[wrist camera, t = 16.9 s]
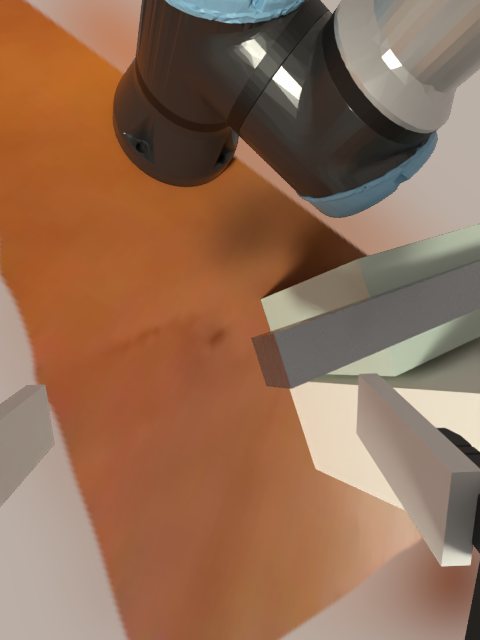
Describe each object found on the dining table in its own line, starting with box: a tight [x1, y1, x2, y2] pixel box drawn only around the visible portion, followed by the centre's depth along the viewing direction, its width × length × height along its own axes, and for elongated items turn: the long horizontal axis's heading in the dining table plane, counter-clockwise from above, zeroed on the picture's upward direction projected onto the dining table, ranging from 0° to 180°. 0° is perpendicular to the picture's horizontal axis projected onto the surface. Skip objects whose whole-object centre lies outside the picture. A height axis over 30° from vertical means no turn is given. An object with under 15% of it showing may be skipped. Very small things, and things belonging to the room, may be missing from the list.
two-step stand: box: [261, 224, 480, 511], centre depth 36 cm, size 16×23×30 cm
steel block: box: [251, 259, 480, 389], centre depth 29 cm, size 30×4×4 cm, turn 108°
